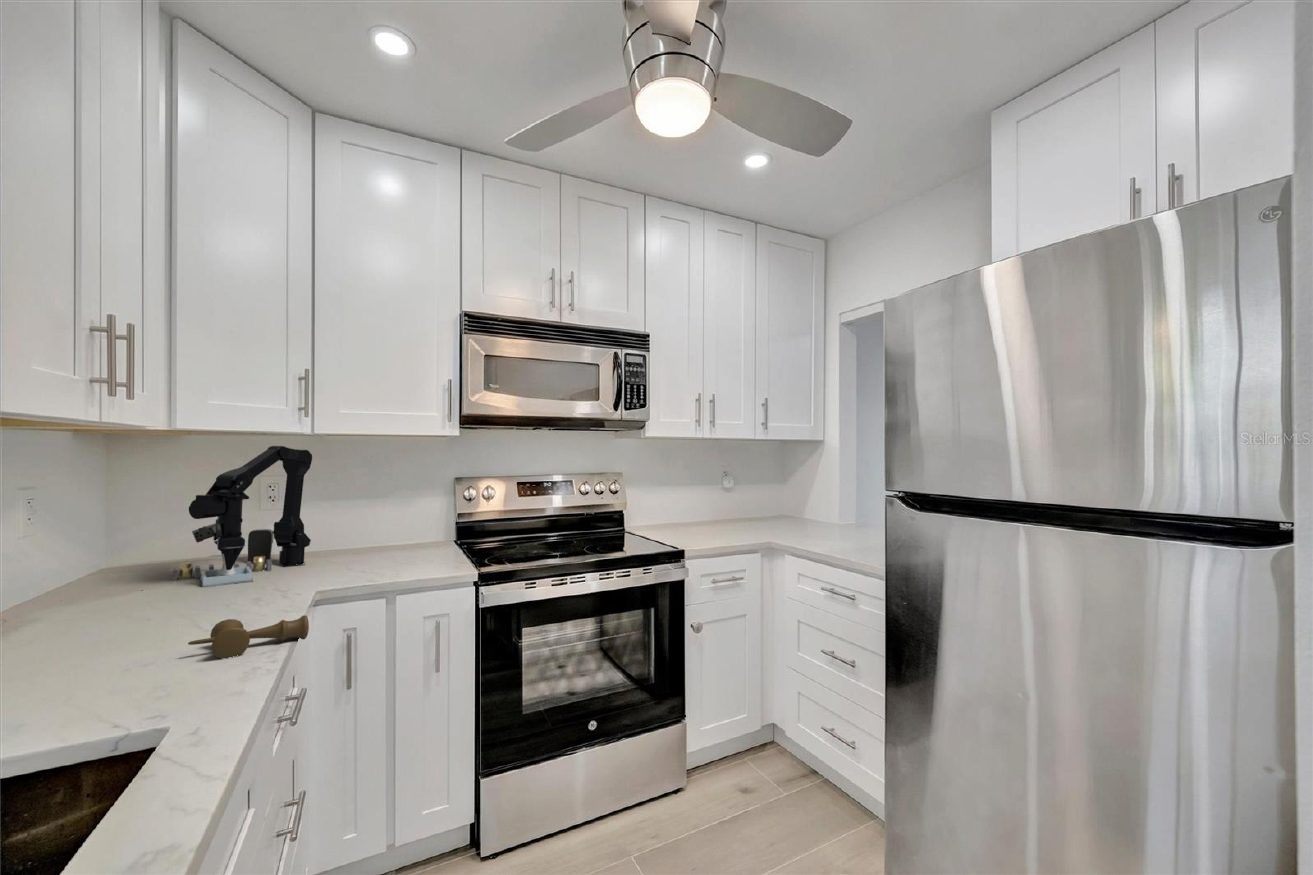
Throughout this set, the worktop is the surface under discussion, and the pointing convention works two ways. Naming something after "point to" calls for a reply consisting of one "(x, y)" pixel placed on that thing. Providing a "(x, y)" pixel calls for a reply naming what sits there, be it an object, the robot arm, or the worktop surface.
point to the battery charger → (260, 544)
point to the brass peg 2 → (259, 563)
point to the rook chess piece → (226, 572)
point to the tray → (226, 577)
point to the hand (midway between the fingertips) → (227, 567)
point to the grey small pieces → (211, 567)
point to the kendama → (250, 635)
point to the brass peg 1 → (186, 570)
